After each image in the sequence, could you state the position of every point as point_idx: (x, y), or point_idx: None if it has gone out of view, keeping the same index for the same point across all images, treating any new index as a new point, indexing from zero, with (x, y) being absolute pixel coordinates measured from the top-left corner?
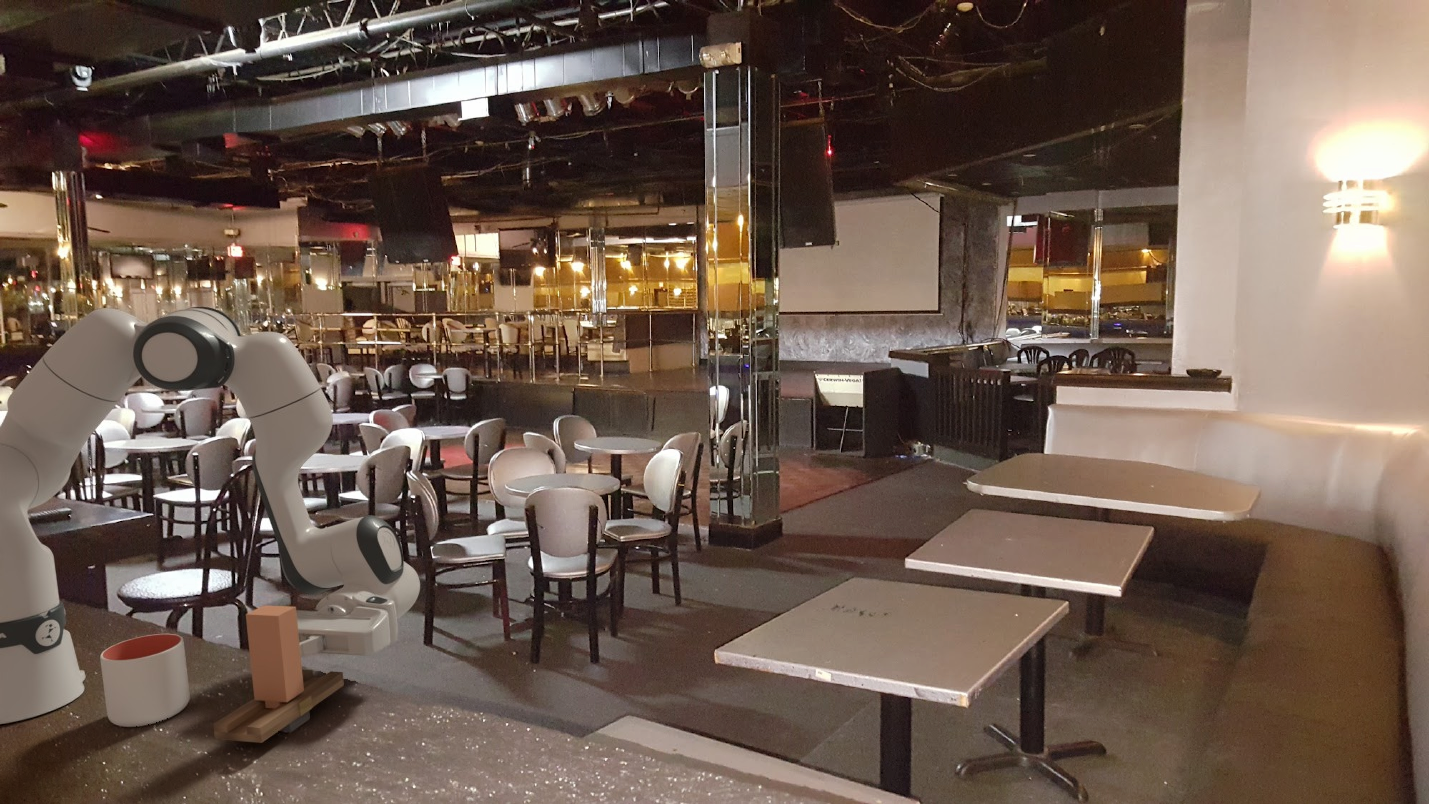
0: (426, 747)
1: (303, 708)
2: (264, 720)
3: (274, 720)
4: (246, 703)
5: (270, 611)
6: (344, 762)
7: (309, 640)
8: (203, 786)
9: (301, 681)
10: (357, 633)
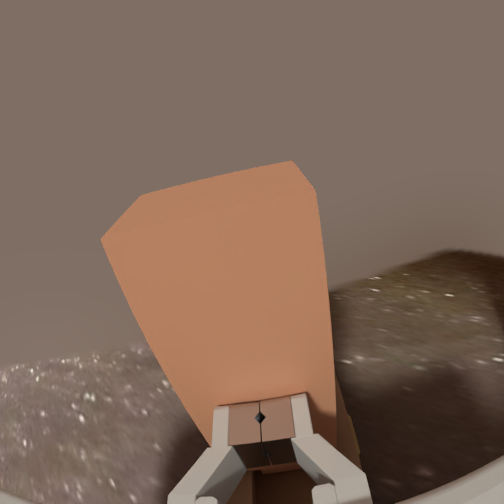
0: (21, 434)
1: None
2: None
3: None
4: (340, 393)
5: (202, 190)
6: (105, 397)
7: (190, 474)
8: None
9: None
10: (5, 490)
